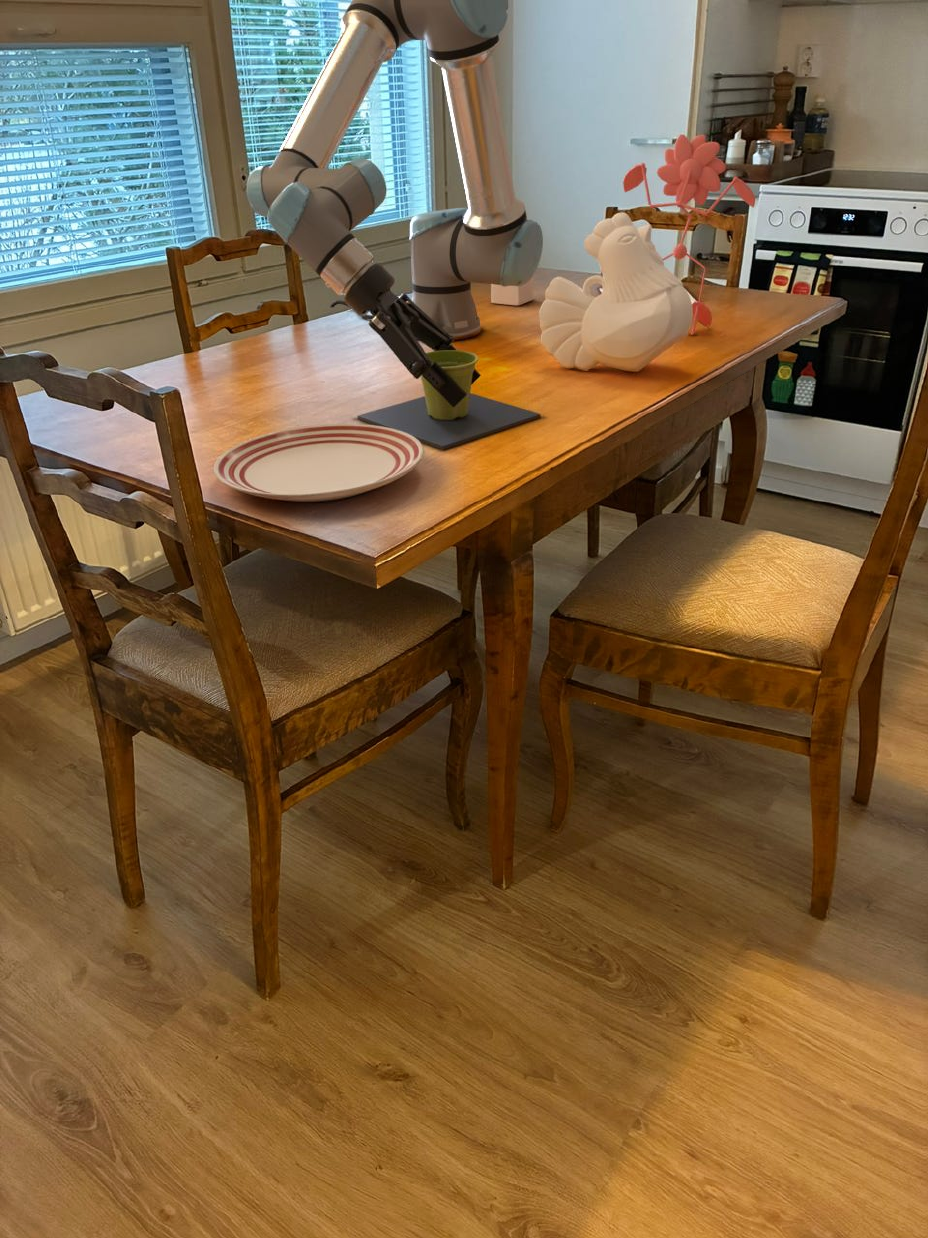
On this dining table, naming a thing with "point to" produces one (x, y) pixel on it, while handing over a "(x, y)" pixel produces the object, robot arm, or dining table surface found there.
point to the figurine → (690, 191)
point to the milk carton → (512, 293)
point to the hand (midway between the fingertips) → (467, 390)
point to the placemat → (449, 421)
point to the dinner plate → (319, 462)
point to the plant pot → (460, 371)
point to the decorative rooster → (616, 304)
